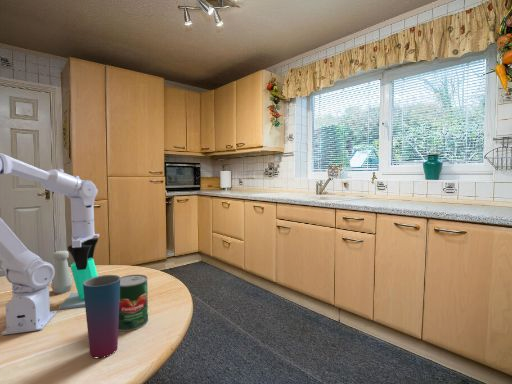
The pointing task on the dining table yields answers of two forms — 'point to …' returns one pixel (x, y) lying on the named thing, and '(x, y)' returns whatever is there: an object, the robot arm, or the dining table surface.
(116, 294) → the cup
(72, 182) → the robot arm
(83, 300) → the mat
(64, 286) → the salt shaker
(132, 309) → the canned tomato
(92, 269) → the candle
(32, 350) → the dining table surface
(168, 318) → the dining table surface
